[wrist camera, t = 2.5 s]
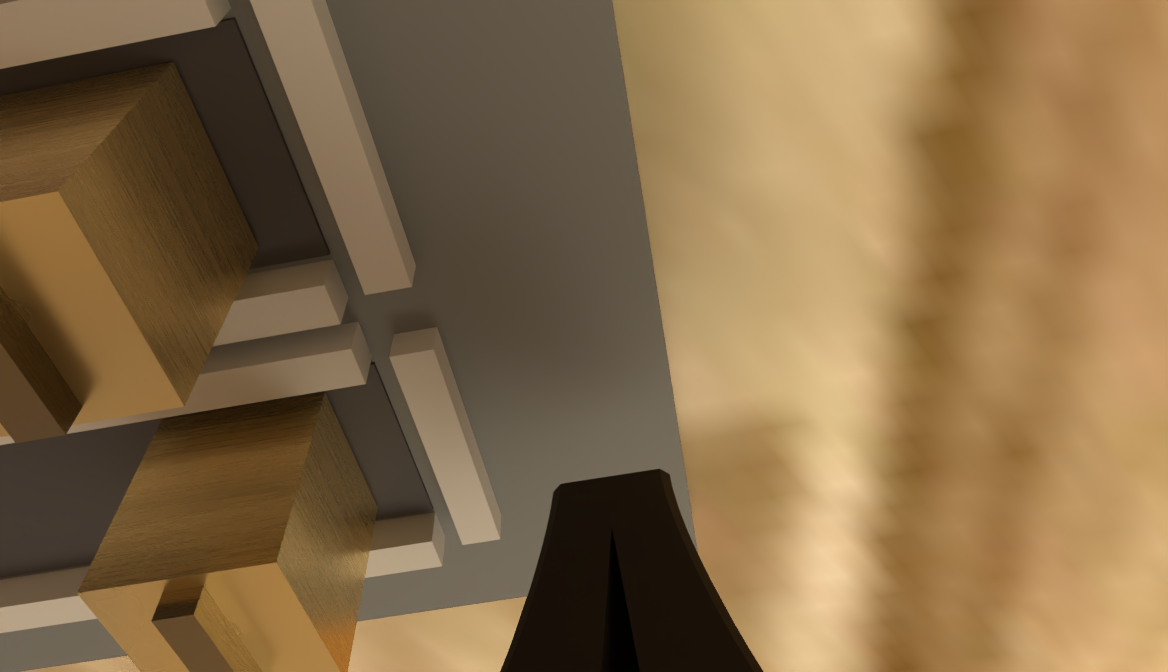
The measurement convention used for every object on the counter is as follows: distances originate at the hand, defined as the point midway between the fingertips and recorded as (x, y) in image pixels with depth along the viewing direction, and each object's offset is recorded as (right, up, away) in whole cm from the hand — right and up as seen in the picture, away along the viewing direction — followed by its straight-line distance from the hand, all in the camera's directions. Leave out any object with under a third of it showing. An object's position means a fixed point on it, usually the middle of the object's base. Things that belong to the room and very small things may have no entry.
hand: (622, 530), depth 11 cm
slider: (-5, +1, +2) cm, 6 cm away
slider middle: (-6, +4, -1) cm, 7 cm away
